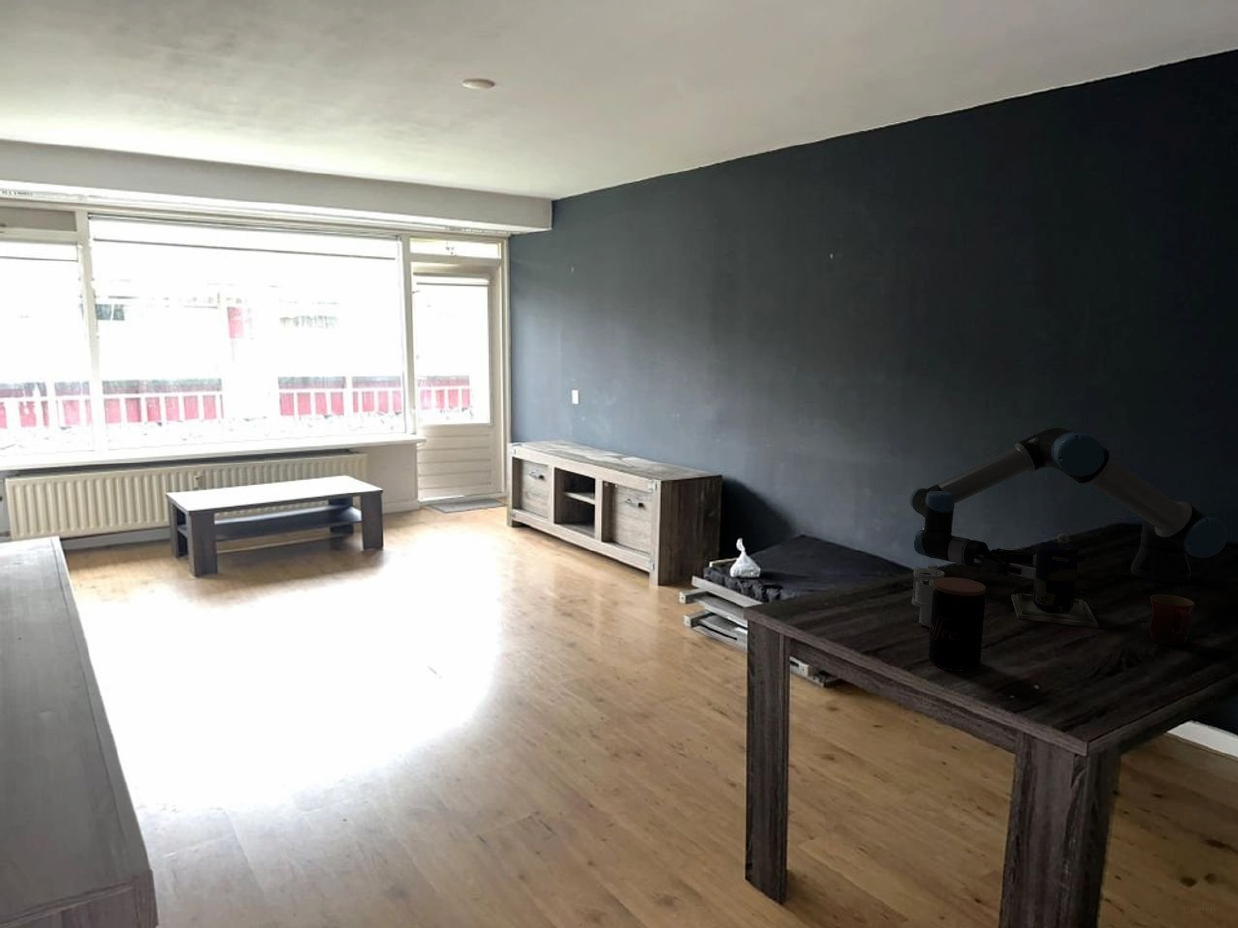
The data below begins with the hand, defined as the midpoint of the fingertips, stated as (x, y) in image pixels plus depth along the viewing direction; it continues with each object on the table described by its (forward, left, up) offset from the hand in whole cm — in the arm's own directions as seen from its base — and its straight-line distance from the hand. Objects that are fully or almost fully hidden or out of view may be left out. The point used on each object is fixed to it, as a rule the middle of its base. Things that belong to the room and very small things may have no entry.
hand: (1047, 569), depth 213 cm
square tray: (-2, +1, -11) cm, 11 cm away
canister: (-2, 0, -10) cm, 11 cm away
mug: (-25, +16, -11) cm, 32 cm away
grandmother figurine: (-9, -39, -11) cm, 42 cm away
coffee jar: (+23, +47, -11) cm, 53 cm away
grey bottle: (+29, +24, -11) cm, 39 cm away
